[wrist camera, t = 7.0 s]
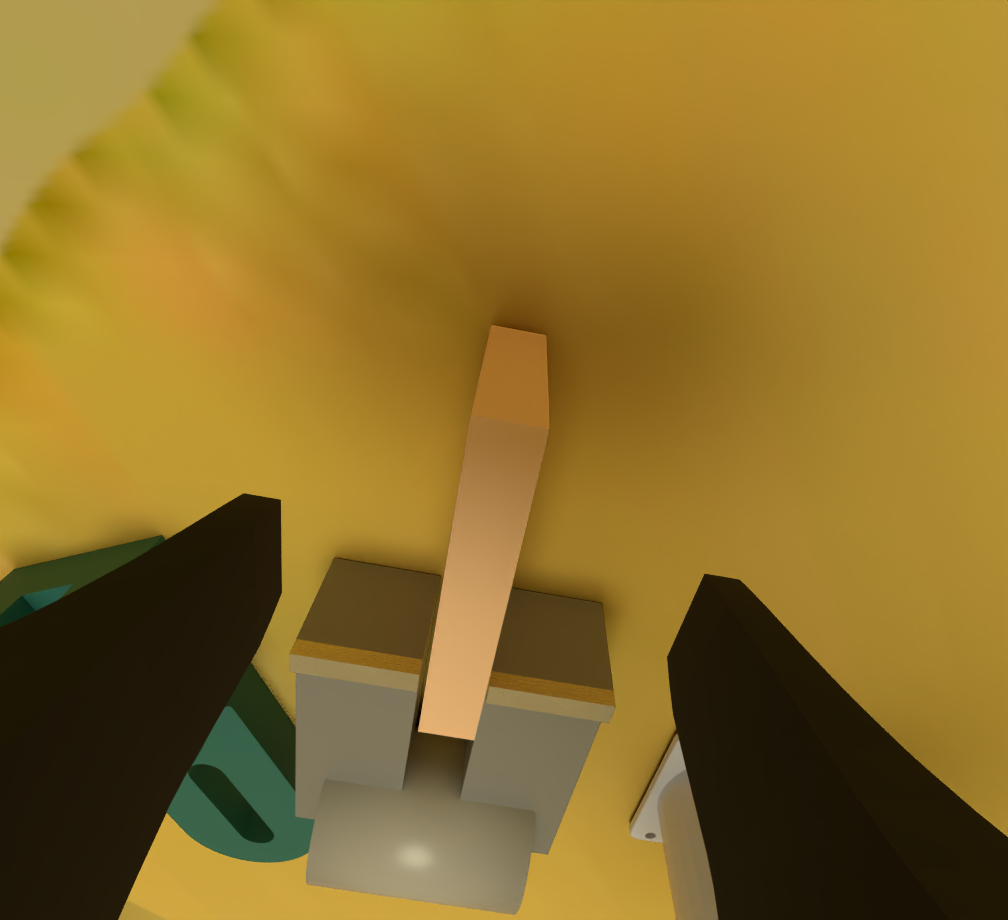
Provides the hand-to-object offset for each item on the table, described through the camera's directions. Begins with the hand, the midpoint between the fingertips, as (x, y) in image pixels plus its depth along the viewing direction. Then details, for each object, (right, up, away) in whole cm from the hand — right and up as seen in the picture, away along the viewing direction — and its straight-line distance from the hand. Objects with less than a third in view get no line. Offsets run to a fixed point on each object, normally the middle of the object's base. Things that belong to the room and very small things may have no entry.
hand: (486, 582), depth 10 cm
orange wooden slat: (0, +2, +9) cm, 9 cm away
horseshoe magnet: (-2, -8, +15) cm, 17 cm away
